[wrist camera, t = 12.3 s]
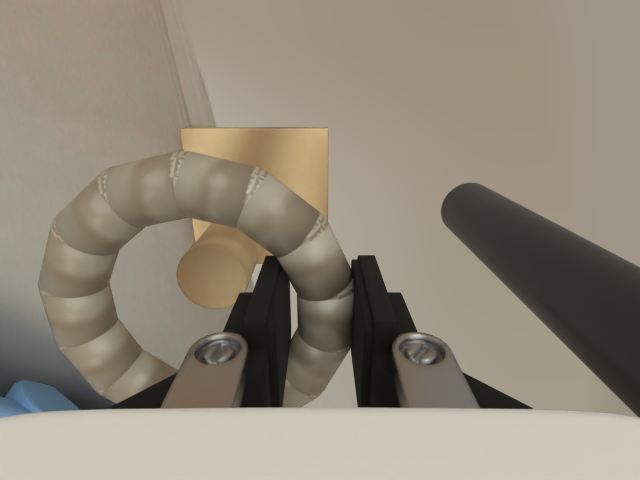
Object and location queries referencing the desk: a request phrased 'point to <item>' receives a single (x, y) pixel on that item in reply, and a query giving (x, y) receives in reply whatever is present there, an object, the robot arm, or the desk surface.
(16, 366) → the desk surface
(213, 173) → the segmented ring
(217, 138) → the post
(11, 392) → the blue island diorama
